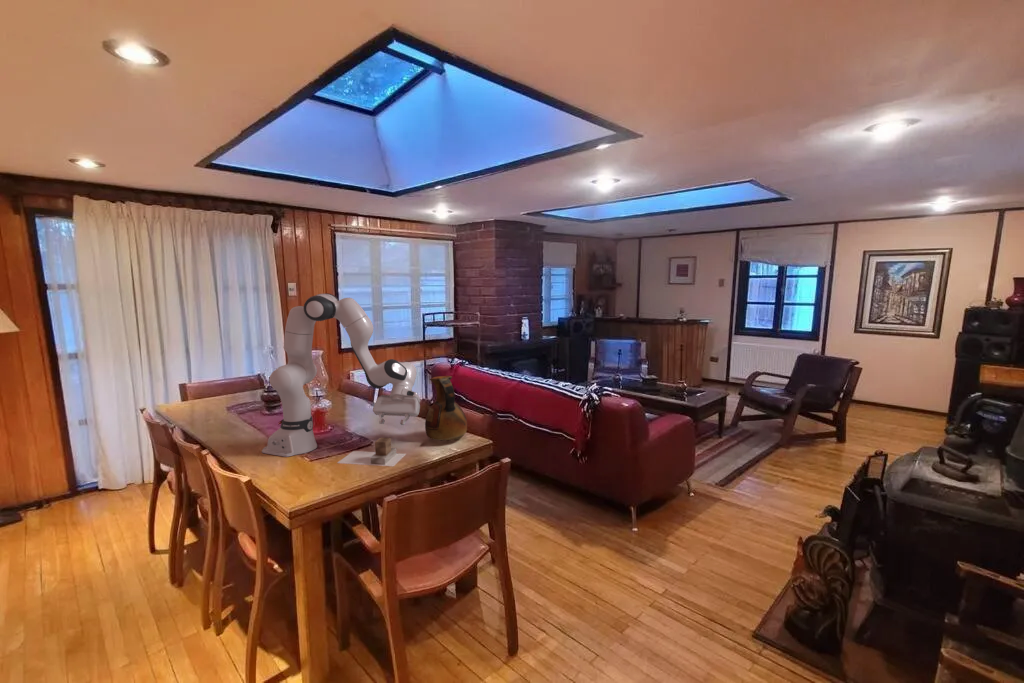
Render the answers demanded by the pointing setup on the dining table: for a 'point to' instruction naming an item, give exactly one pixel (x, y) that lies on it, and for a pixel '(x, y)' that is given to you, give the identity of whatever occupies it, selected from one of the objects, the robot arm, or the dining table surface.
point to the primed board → (368, 458)
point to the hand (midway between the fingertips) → (391, 423)
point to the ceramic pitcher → (445, 413)
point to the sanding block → (383, 451)
